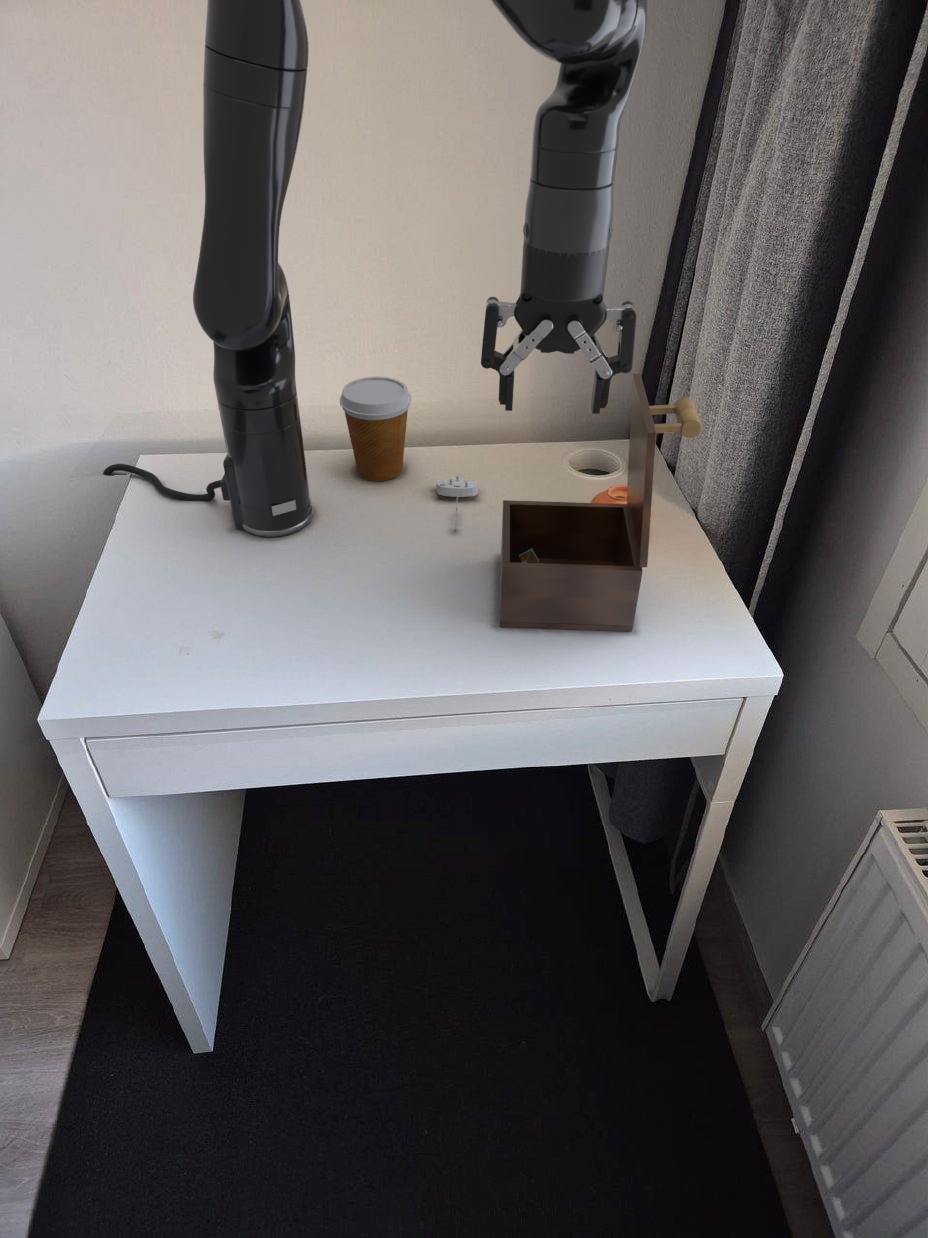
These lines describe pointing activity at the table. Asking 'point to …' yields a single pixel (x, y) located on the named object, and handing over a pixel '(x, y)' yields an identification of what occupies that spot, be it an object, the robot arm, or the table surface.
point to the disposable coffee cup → (377, 425)
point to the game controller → (457, 489)
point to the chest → (568, 566)
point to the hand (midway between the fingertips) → (551, 408)
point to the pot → (613, 496)
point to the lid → (650, 456)
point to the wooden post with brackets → (528, 557)
